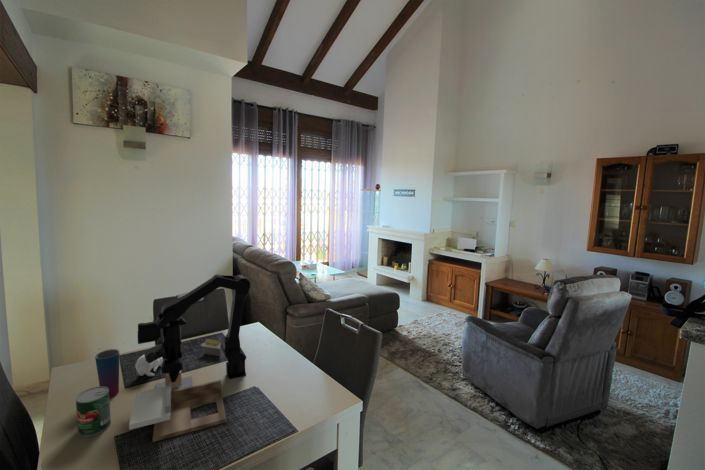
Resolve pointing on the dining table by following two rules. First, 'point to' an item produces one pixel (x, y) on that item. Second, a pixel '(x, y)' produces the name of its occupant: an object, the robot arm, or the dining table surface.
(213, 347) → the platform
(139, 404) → the cover
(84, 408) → the canned tomato
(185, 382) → the mat
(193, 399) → the brown open box
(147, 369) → the white animal figurine
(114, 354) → the cup
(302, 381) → the dining table surface
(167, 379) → the block
